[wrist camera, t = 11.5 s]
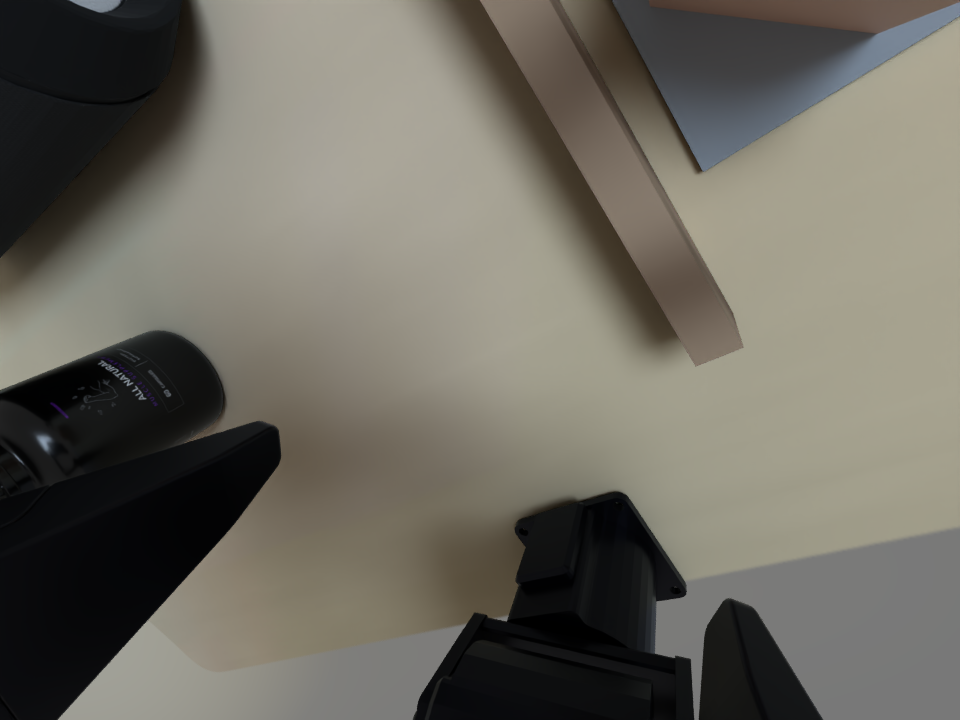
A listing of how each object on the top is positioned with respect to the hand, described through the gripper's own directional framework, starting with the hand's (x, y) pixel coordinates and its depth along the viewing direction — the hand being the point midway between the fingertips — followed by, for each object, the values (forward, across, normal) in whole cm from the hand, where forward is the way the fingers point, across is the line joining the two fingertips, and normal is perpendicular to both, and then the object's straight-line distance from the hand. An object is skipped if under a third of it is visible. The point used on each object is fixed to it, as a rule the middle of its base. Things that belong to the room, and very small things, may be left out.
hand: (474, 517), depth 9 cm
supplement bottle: (+12, +23, +11) cm, 28 cm away
